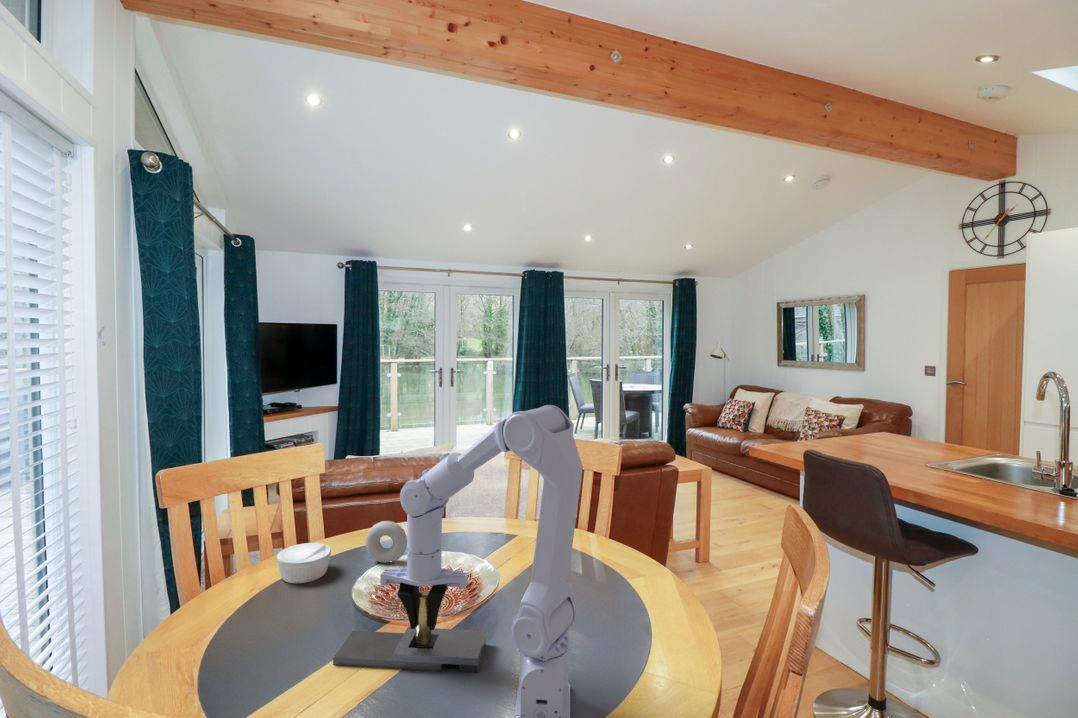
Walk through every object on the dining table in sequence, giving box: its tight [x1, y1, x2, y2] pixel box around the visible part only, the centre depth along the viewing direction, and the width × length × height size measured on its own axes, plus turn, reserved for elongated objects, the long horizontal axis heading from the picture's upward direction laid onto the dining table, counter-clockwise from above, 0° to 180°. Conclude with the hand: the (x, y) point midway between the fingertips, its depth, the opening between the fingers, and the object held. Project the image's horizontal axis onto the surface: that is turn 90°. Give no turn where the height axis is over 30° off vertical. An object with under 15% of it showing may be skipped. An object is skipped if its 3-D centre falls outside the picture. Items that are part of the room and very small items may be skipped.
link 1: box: [332, 630, 444, 672], centre depth 90 cm, size 8×18×1 cm, turn 86°
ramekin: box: [276, 542, 332, 584], centre depth 119 cm, size 11×11×5 cm
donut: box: [365, 520, 407, 564], centre depth 126 cm, size 10×4×10 cm, turn 87°
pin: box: [416, 590, 432, 645], centre depth 90 cm, size 3×3×8 cm
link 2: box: [393, 626, 487, 674], centre depth 90 cm, size 8×14×2 cm, turn 86°
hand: (423, 626), depth 90 cm, fingers closed on pin, 3 cm apart
